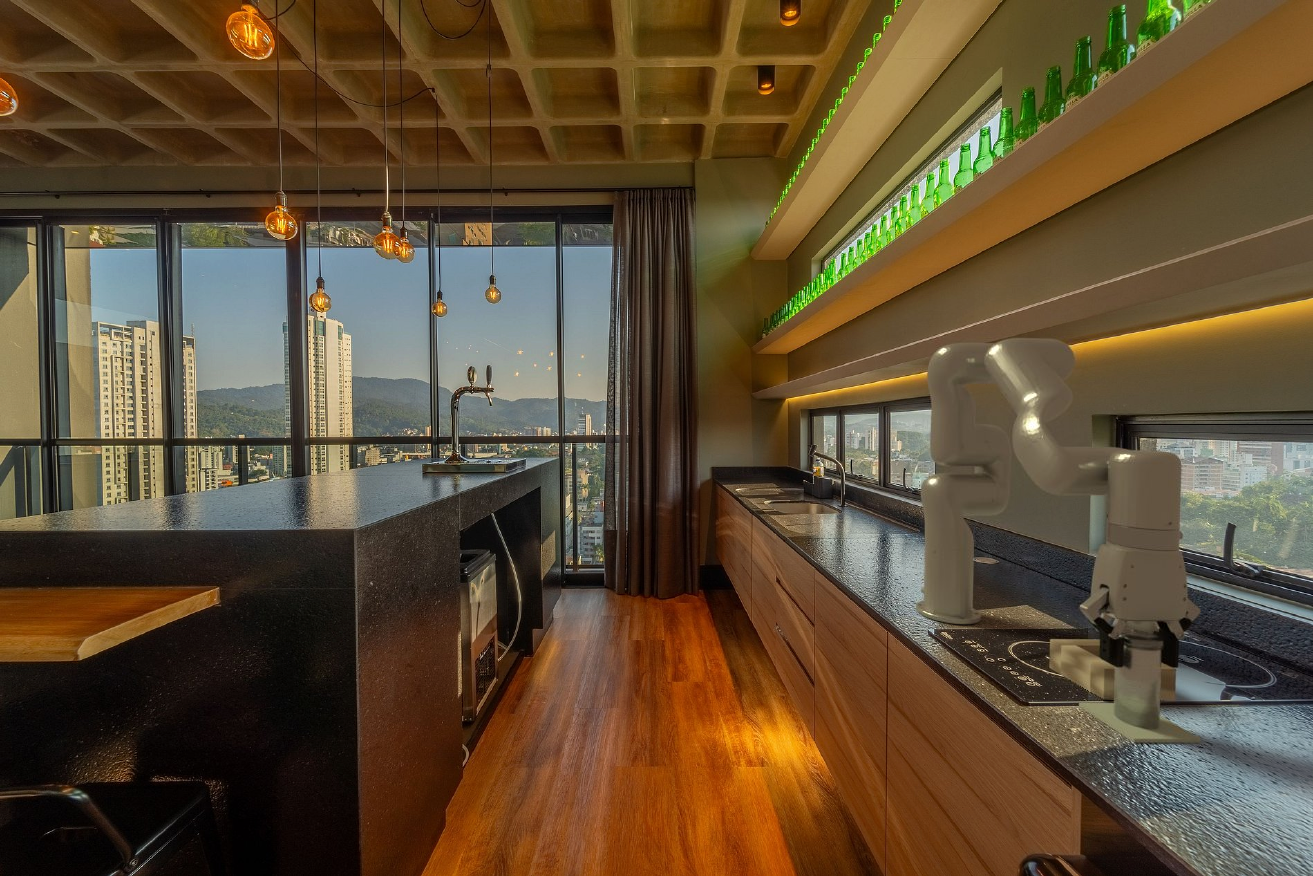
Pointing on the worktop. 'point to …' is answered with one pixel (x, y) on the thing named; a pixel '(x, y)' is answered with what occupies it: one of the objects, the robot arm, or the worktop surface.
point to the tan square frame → (1097, 668)
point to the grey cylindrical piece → (1139, 680)
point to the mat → (1163, 734)
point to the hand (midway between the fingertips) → (1137, 662)
